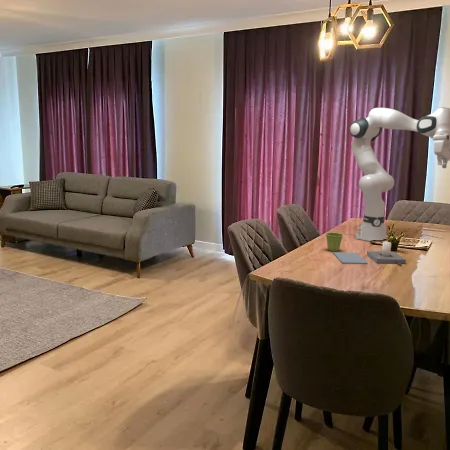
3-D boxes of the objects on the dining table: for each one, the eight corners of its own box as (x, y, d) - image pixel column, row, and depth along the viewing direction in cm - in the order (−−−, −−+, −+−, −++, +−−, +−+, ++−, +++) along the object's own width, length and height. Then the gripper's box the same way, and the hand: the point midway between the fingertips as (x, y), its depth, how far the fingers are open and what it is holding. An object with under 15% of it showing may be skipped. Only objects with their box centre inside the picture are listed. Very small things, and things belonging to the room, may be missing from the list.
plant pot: (343, 248, 257) (344, 233, 255) (341, 252, 248) (342, 236, 247) (325, 247, 260) (326, 231, 258) (323, 251, 251) (324, 235, 250)
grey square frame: (366, 255, 244) (367, 250, 244) (394, 255, 244) (394, 251, 244) (379, 265, 224) (380, 261, 223) (409, 266, 224) (409, 261, 223)
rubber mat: (333, 253, 246) (333, 252, 246) (356, 253, 246) (356, 252, 246) (342, 263, 227) (342, 262, 226) (367, 264, 227) (367, 262, 226)
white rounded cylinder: (379, 258, 239) (380, 241, 237) (388, 258, 239) (390, 241, 237) (382, 260, 234) (383, 243, 233) (391, 260, 234) (393, 243, 233)
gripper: (441, 144, 251) (440, 170, 251) (432, 135, 235) (430, 163, 234) (454, 143, 247) (453, 169, 247) (445, 134, 231) (444, 162, 231)
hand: (442, 166), depth 240 cm, fingers open, 8 cm apart
